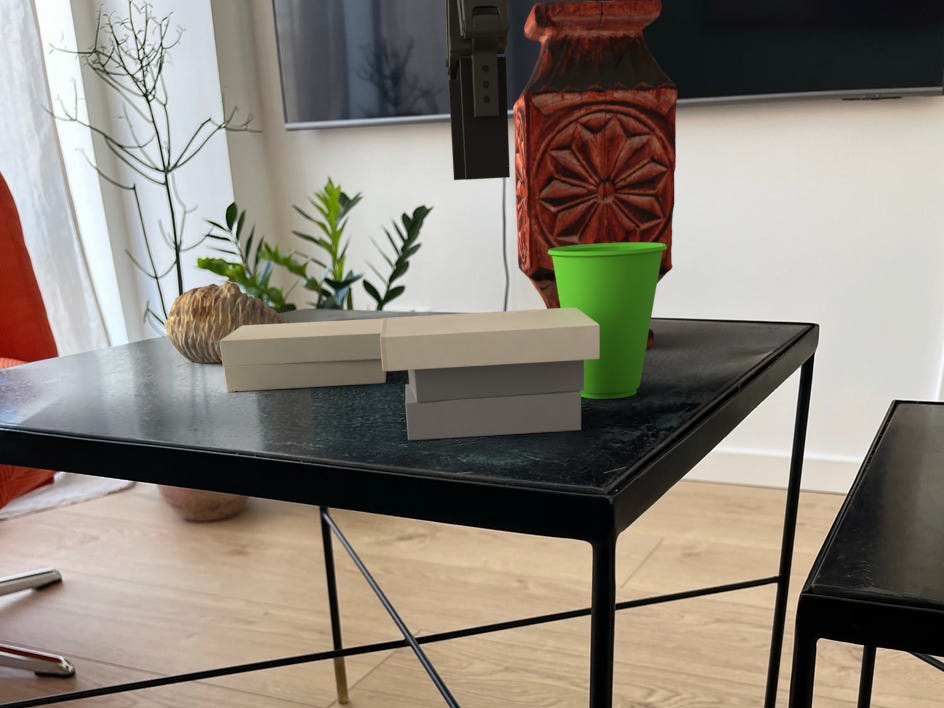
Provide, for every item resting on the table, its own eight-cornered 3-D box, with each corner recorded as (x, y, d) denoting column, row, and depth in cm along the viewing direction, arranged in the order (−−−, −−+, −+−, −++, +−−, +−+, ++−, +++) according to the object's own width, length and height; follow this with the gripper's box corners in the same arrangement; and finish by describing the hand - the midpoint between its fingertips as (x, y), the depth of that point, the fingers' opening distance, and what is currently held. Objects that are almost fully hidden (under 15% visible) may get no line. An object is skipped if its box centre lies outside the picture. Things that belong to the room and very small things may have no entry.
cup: (536, 402, 79) (532, 253, 75) (567, 381, 87) (566, 243, 82) (650, 406, 76) (653, 250, 72) (672, 383, 84) (676, 241, 80)
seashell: (173, 395, 111) (123, 313, 104) (230, 343, 116) (186, 261, 109) (258, 401, 103) (210, 313, 96) (315, 345, 108) (273, 258, 101)
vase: (643, 331, 112) (650, 14, 99) (670, 349, 99) (682, -10, 87) (518, 338, 112) (509, 21, 99) (529, 357, 99) (521, -2, 87)
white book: (382, 371, 66) (379, 336, 65) (385, 348, 75) (383, 317, 74) (599, 359, 67) (599, 324, 66) (576, 337, 76) (576, 307, 75)
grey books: (408, 441, 70) (402, 367, 67) (408, 417, 76) (403, 349, 74) (586, 430, 70) (586, 356, 68) (570, 408, 77) (569, 340, 75)
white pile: (225, 393, 89) (217, 341, 87) (243, 372, 99) (236, 325, 97) (390, 384, 90) (386, 332, 88) (392, 364, 99) (388, 317, 98)
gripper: (554, -309, 49) (561, 174, 58) (503, -153, 72) (514, 176, 80) (399, -304, 49) (429, 181, 57) (397, -149, 71) (419, 182, 80)
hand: (479, 179), depth 69 cm, fingers open, 13 cm apart
